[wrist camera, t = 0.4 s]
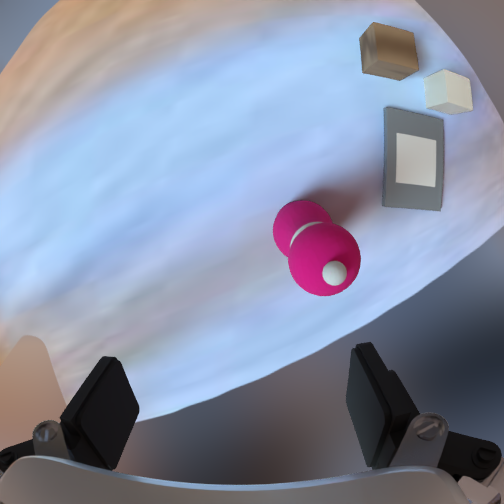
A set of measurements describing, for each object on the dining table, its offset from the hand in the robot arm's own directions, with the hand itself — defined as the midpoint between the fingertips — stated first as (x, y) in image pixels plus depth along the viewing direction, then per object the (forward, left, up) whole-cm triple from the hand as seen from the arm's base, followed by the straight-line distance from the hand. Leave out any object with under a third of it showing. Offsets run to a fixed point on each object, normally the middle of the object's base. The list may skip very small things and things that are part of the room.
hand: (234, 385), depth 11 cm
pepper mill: (-1, +6, -30) cm, 31 cm away
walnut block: (-26, +18, -30) cm, 44 cm away
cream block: (-22, +28, -30) cm, 47 cm away
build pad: (-11, +23, -30) cm, 39 cm away
